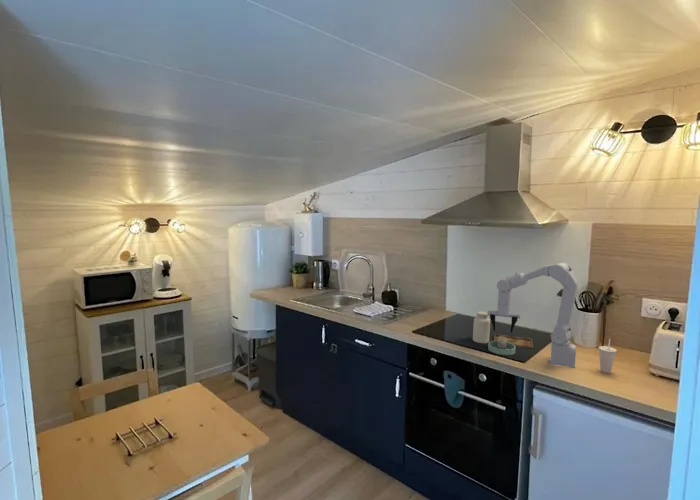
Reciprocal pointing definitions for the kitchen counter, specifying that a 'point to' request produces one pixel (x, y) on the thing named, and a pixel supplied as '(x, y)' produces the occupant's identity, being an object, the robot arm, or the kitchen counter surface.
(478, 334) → the pill bottle
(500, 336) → the pebble
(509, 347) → the bowl
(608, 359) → the smoothie
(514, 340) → the tray
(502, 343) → the pebble
